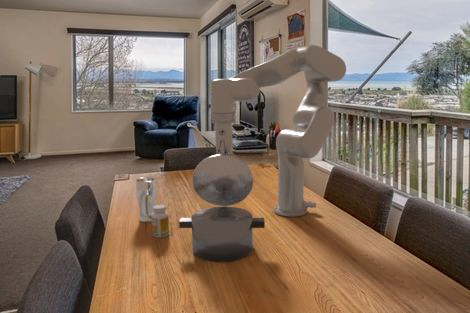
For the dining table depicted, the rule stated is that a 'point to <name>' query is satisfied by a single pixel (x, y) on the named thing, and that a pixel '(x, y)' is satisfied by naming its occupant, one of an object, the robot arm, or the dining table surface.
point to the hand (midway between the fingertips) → (224, 173)
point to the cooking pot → (222, 233)
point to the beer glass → (146, 197)
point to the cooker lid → (222, 180)
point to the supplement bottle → (160, 221)
